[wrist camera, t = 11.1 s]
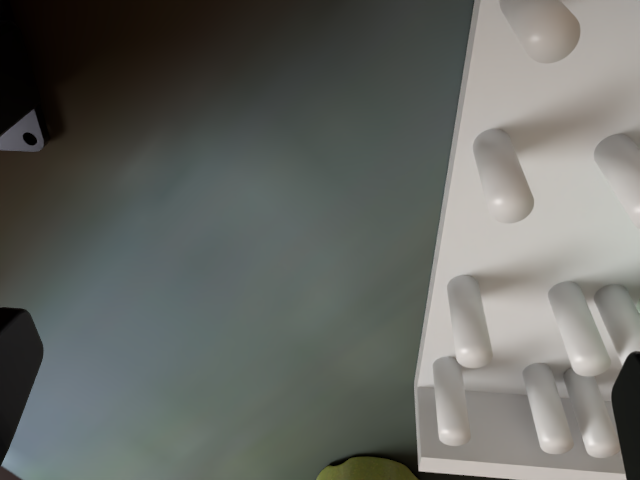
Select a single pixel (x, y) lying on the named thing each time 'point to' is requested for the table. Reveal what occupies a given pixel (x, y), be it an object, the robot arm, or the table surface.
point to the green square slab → (638, 306)
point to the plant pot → (367, 470)
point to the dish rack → (536, 247)
